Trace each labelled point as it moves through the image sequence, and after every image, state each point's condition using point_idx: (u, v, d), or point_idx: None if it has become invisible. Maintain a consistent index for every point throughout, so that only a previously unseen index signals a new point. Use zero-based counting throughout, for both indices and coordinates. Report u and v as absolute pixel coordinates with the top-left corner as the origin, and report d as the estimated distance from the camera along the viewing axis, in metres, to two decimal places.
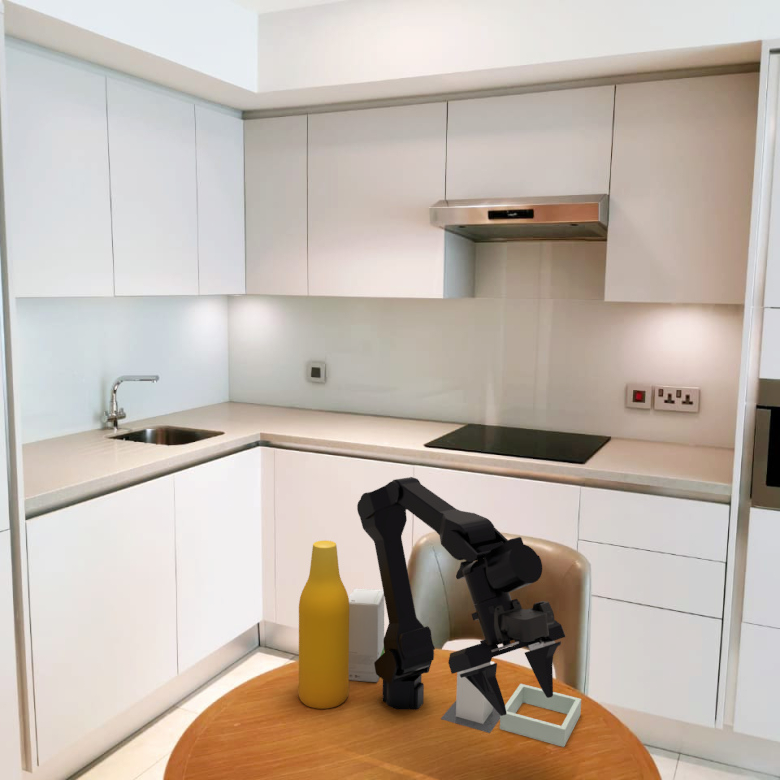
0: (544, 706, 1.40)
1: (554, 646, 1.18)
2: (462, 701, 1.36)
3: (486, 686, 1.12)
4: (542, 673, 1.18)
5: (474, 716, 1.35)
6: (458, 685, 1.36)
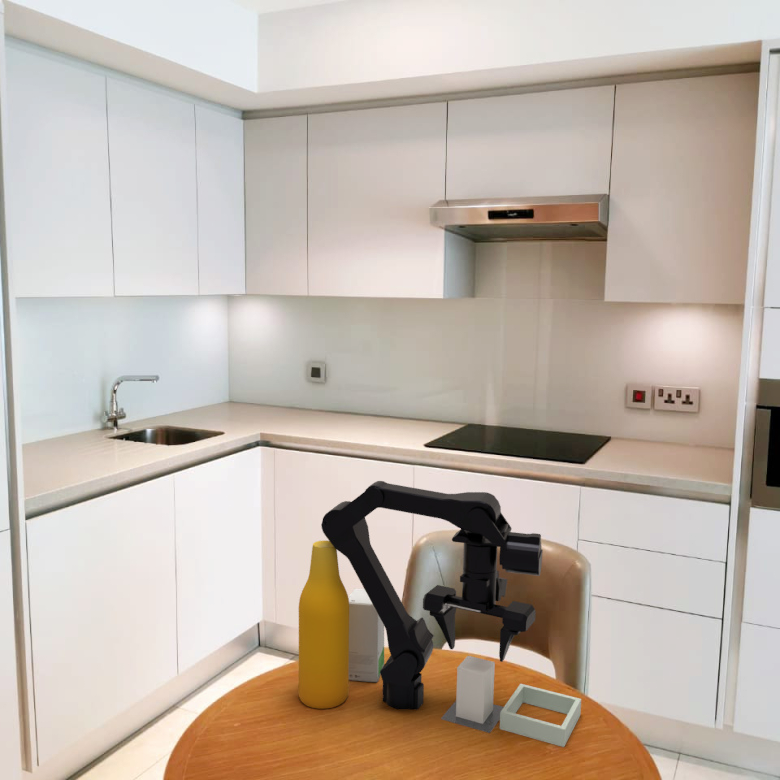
0: (544, 706, 1.40)
1: None
2: (462, 701, 1.36)
3: None
4: (452, 629, 1.38)
5: (474, 716, 1.35)
6: (458, 685, 1.36)
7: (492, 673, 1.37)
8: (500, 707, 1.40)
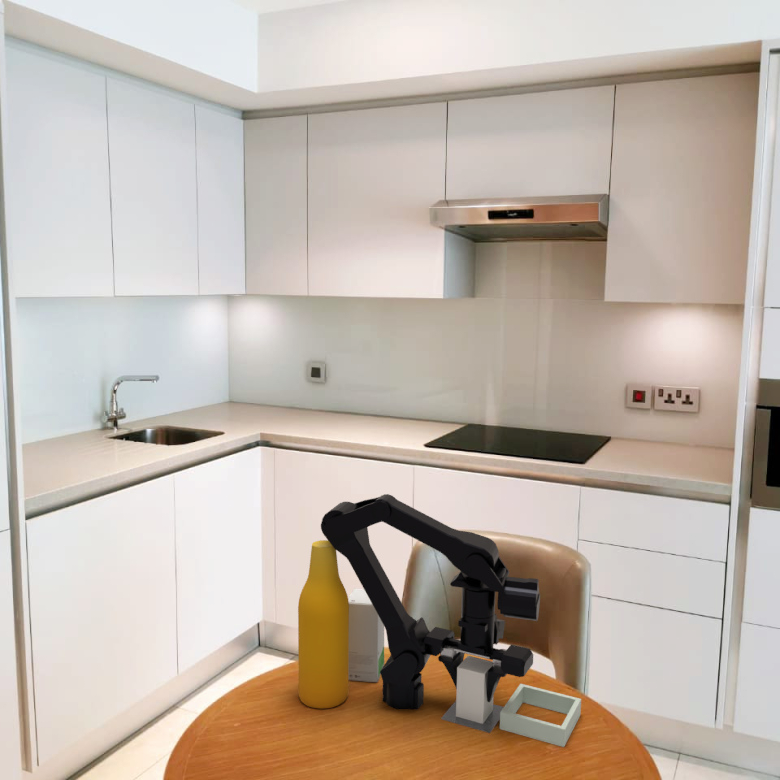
0: (544, 706, 1.40)
1: None
2: (462, 701, 1.36)
3: None
4: None
5: (474, 716, 1.35)
6: (458, 685, 1.36)
7: None
8: (500, 707, 1.40)
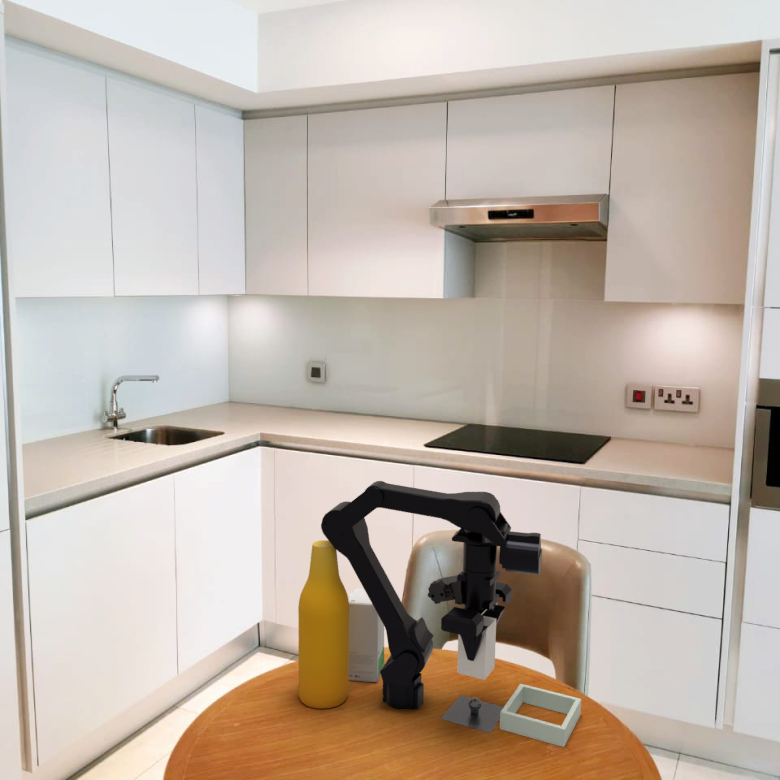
0: (544, 706, 1.40)
1: None
2: (487, 660, 1.34)
3: None
4: None
5: (491, 665, 1.36)
6: (486, 647, 1.33)
7: None
8: (500, 707, 1.40)
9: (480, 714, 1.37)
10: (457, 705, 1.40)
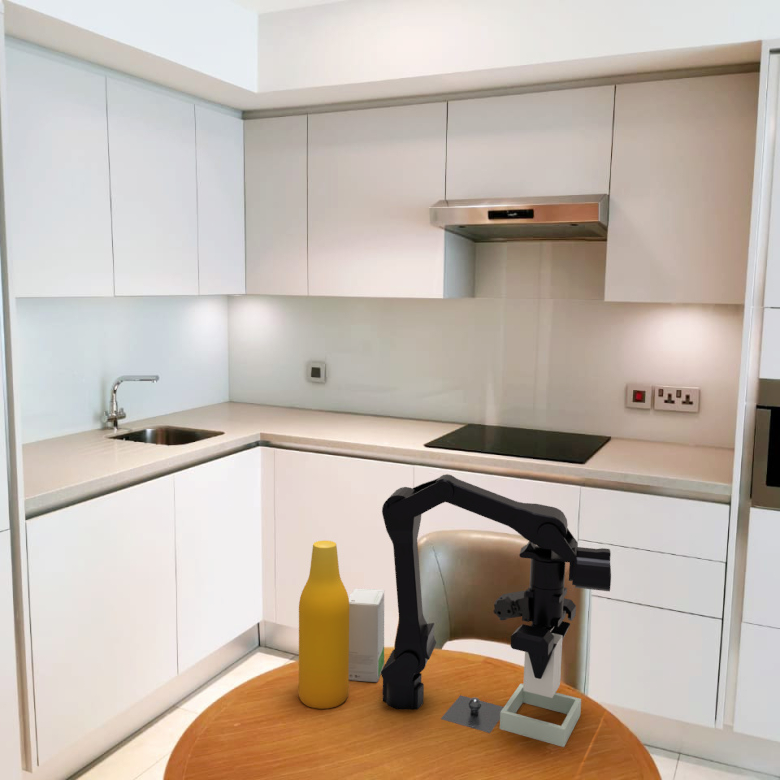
0: (544, 706, 1.40)
1: None
2: (554, 677, 1.32)
3: None
4: None
5: (557, 683, 1.34)
6: (554, 664, 1.31)
7: None
8: (500, 707, 1.40)
9: (480, 714, 1.37)
10: (457, 705, 1.40)
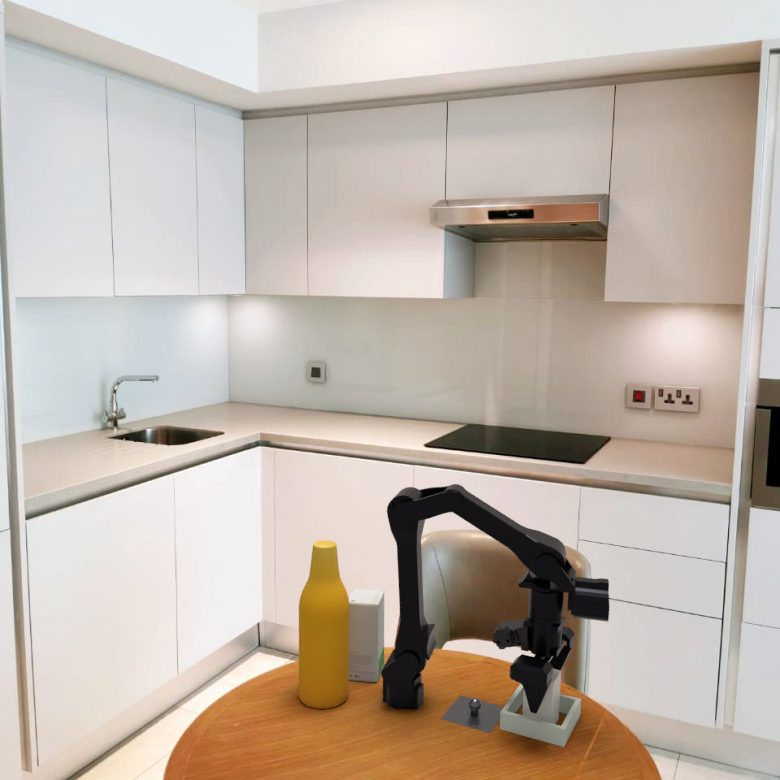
0: None
1: None
2: (553, 713, 1.33)
3: None
4: None
5: (556, 718, 1.35)
6: (552, 700, 1.32)
7: None
8: (500, 707, 1.40)
9: (480, 714, 1.37)
10: (457, 705, 1.40)
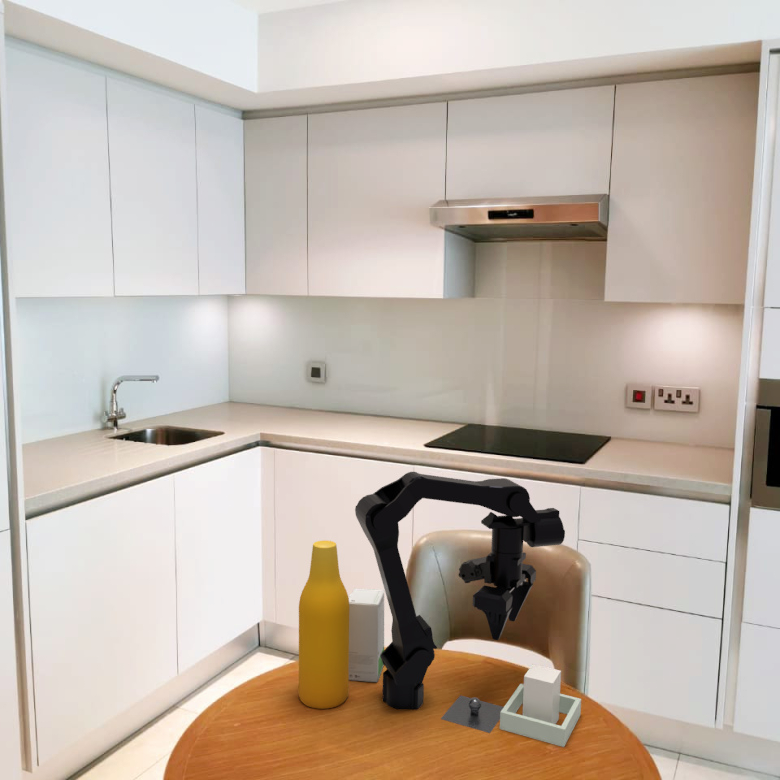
0: None
1: None
2: (553, 713, 1.33)
3: None
4: None
5: (556, 718, 1.35)
6: (552, 700, 1.32)
7: None
8: (500, 707, 1.40)
9: (480, 714, 1.37)
10: (457, 705, 1.40)
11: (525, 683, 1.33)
